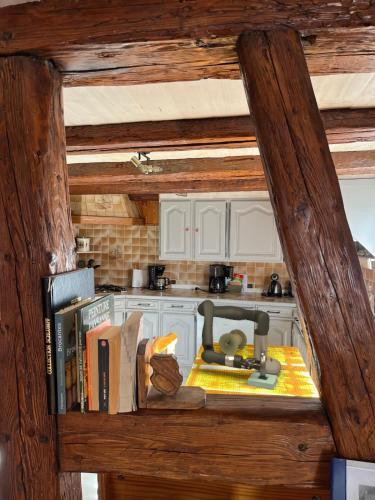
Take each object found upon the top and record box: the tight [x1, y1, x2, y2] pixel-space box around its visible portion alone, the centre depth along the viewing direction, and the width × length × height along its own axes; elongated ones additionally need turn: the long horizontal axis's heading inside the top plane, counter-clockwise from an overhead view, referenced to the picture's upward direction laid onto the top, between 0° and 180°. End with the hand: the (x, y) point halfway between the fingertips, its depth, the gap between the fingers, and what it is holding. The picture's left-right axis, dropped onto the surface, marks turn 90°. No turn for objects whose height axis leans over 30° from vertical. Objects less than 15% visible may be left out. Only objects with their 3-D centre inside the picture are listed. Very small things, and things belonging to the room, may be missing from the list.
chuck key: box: [260, 351, 266, 380], centre depth 191 cm, size 7×3×18 cm, turn 156°
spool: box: [218, 328, 248, 354], centre depth 249 cm, size 16×15×15 cm
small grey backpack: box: [256, 356, 282, 377], centre depth 208 cm, size 15×8×20 cm
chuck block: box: [247, 371, 278, 391], centre depth 191 cm, size 14×14×3 cm
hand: (261, 365), depth 192 cm, fingers open, 8 cm apart
